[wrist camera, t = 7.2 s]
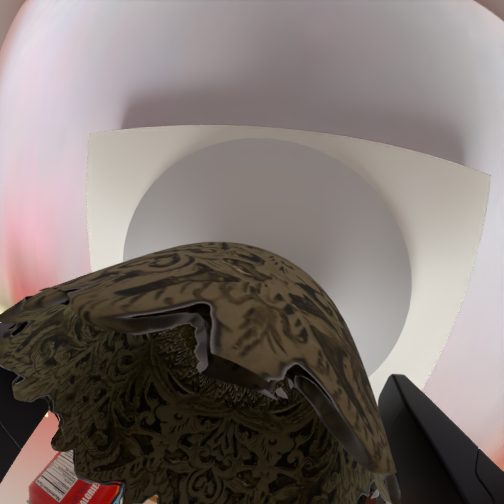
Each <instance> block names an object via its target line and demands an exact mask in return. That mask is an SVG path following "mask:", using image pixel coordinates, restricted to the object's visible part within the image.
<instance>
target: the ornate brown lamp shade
mask: <svg viewBox="0 0 504 504" xmlns="http://www.w3.org/2000/svg"><path fill="white" fill-rule="evenodd" d="M39 291H42V292H40V293H38V294H36V295H34V296H29V297H28V296H27V297H25V298H24V299H23V300H21V301H20V302H18V303H17V304H15V305H14V306H12V307H11V308H9V309H7V310H6V311H4V312H3V313H2V314H1V315H0V322H1V323H4V324H14V323H15V324H14V325H13V326H11V327H10V328H8V329H7V330H5V332H4V334H3V336H2V338H1V340H0V366H1V367H3V368H5V369H8V370H10V371H13V372H15V374H17V375H18V376H17V377H16V379H15V380H14V381H13V382H12V388H13V394H14V398H15V399H17V400H19V401H24V402H33V401H34V400H36V399H39V398H42V399H43V398H44V399H46V401H47V402H48V404H49V410H50V411H51V412H52V413H54V414H55V415H56V417H57V419H58V421H59V418H58V416H57V414H58V415H59V417H60V421H59V425H58V427H59V429H58V431H57V432H56V434H55V435H54V437H53V438H52V441H51V446H52V448H53V449H54V450H55V451H60V452H70V450H73V463H74V472H75V475H76V477H77V478H78V479H80V480H82V481H85V482H87V483H90V484H93V483H99V485H102V486H105V485H107V486H111V485H116V486H120V487H122V488H123V491H122V493H121V496H122V498H123V499H122V504H143V503H144V502H145V501H146V500H147V499H149V498H151V497H153V496H154V495H158V498H157V503H158V504H366V500H367V498H368V497H369V496H370V495H371V493H373V495H372V497H371V499H372V498H375V497H378V496H379V492H380V494H381V496H382V498H383V499H384V500H385V501H386V503H387V504H400V503H401V491H400V485H399V480H398V475H397V471H396V467H395V464H394V461H393V458H392V455H391V451H390V447H389V444H388V440H387V436H386V433H385V429H384V426H383V422H382V419H381V416H380V412H379V409H378V406H377V403H376V400H375V397H374V394H373V391H372V388H371V385H370V382H369V379H368V376H367V373H366V370H365V368H364V365H363V362H362V360H361V357H360V354H359V352H358V349H357V347H356V344H355V342H354V340H353V337H352V335H351V333H350V330H349V328H348V326H347V324H346V322H345V320H344V319H343V317H342V315H341V313H340V312H339V310H338V309H337V307H336V305H335V304H334V302H333V301H332V299H331V298H330V297H329V296H328V294H327V293H326V292H325V291H324V289H323V288H322V287H321V286H320V285H319V284H318V283H317V282H316V281H315V280H314V279H313V278H312V277H311V276H310V275H309V274H307V273H306V272H305V271H303V270H302V269H301V268H300V267H298V266H297V265H295V264H293V263H292V262H290V261H289V260H287V259H285V258H283V257H281V256H279V255H277V254H275V253H273V252H270V251H267V250H265V249H262V248H259V247H255V246H251V245H246V244H241V243H233V242H201V243H193V244H186V245H180V246H176V247H173V248H169V249H165V250H161V251H157V252H153V253H150V254H147V255H144V256H140V257H137V258H134V259H131V260H128V261H125V262H122V263H119V264H116V265H113V266H110V267H107V268H104V269H101V270H98V271H95V272H92V273H90V274H87V275H84V276H81V277H78V278H76V279H73V280H70V281H67V282H65V283H62V284H59V285H57V286H54V287H51V288H45V289H42V290H39ZM45 396H48V397H49V400H50V402H49V400H48V399H47V398H46V397H45ZM71 453H72V452H71ZM384 479H385V482H386V487H387V489H386V487H385V484H384V481H383V480H384ZM111 482H119V483H122V484H123V485H124V487H123V486H122V485H121V484H119V483H111Z"/></svg>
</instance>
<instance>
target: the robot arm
mask: <svg viewBox="0 0 504 504" xmlns="http://www.w3.org/2000/svg"><path fill="white" fill-rule="evenodd" d="M14 324H15V323H14ZM14 324H4V323H0V340H1V338H2V336H3V334H4V332H5V330H7V329H8V328H10V327H11V326H13V325H14ZM17 376H18V375H17V374H15V372H13V371H10V370H8V369H5V368H3V367H1V366H0V483H1V482H2V480H3V478H4V477H5V475H6V473H7V472H8V470H9V468H10V467H11V465H12V464H13V462H14V461H15V459H16V457H17V456H18V454H19V453H20V451H21V449H22V448H23V446H24V445H25V443H26V442H27V440H28V439H29V437H30V436H31V434H32V433H33V432H34V430H35V429H36V427H37V426H38V424H39V423H40V422H41V420H42V419H43V417H44V416H45V415H46V413H47V412H48V410H49V404H48V402H47V401H46V399H44V398H43V399H42V398H39V399H36V400H34V401H33V402H24V401H19V400H17V399H15V398H14V394H13V388H12V382H13V381H14V380H15V379H16V377H17ZM45 397H46V398H47V399H48V400H49V397H48V396H45ZM49 402H50V400H49ZM378 409H379V412H380V416H381V419H382V422H383V426H384V429H385V433H386V436H387V440H388V444H389V447H390V451H391V455H392V458H393V461H394V464H395V467H396V471H397V475H398V480H399V485H400V491H401V503H400V504H504V472H503V471H502V470H501V469H500V468H499V467H498V466H497V465H496V464H495V463H494V462H493V461H492V460H490V459H489V458H488V457H487V456H486V455H485V454H484V453H483V451H482V450H481V449H478V447H477V446H476V445H475V444H474V442H473V441H472V440H471V439H470V438H469V437H468V436H467V435H466V434H465V433H464V432H463V431H462V430H461V429H460V428H459V427H458V426H457V425H456V424H455V423H454V422H452V421H451V420H450V419H449V418H448V417H447V416H446V415H445V414H444V413H443V412H442V411H441V410H440V409H439V408H438V407H437V406H436V405H435V404H434V403H433V402H432V401H431V400H430V399H429V398H428V397H427V396H426V395H425V394H424V393H423V392H422V391H421V390H420V389H419V388H418V387H417V386H416V385H415V384H414V383H413V382H412V381H411V380H410V379H409V378H407V377H406V376H405V375H403V374H391V375H390V376H389V377H388V379H387V381H386V383H385V385H384V387H383V389H382V391H381V393H380V395H379V399H378ZM383 481H384V484H385V487H386V482H385V479H384V480H383ZM386 489H387V487H386ZM377 504H387V503H386V501H385V500H384V499H383V498H382V496H381V494H380V492H379V496H378V497H377Z"/></svg>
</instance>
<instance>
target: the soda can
mask: <svg viewBox="0 0 504 504" xmlns="http://www.w3.org/2000/svg"><path fill="white" fill-rule="evenodd" d="M71 452H72V453H71ZM111 483H119V482H111ZM119 484H121V485H122V486H123V487H124V485H123V484H122V483H119ZM122 491H123V488H122V487H120V486H116V485H111V486H107V485H105V486H102V485H99V483H93V484H90V483H87V482H85V481H82V480H80V479H78V478H77V477H76V475H75V472H74V463H73V450H70V452H60V451H59V452H58V453H57V454H56V455H55V457H54V458H53V459H52V460H51V461H50V462H49V464H48V465H47V466H46V467H45V468H44V469H43V470H42V472H41V473H40V474H39V475H38V476H37V477H36V478H35V479H34V481H33V482H32V483H31V484H30V486H29V500H27V503H28V504H122V499H123V498H122V496H121V493H122Z"/></svg>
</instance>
